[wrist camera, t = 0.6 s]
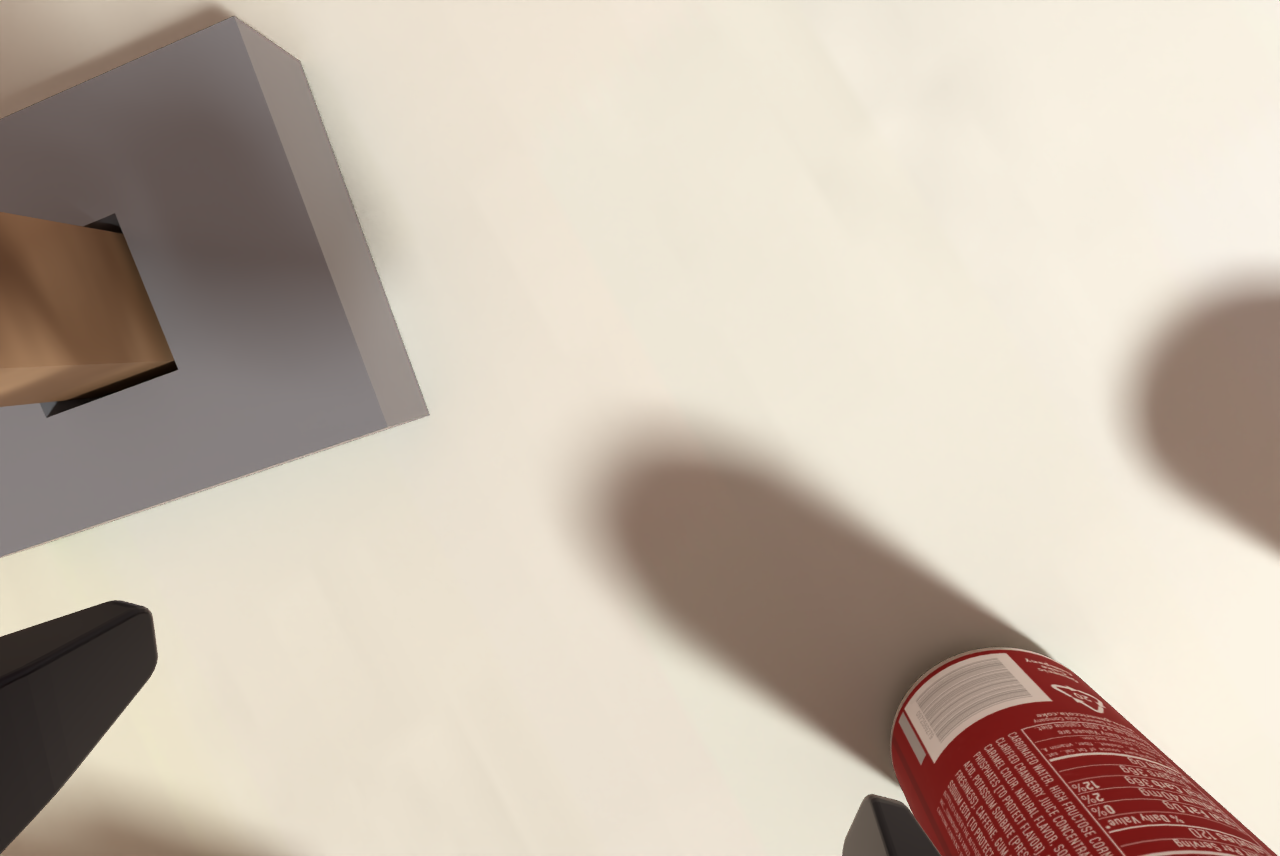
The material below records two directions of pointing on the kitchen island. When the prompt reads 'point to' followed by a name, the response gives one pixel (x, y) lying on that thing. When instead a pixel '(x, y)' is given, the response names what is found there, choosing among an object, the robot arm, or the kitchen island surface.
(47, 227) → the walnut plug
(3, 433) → the socket board
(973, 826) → the soda can
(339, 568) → the kitchen island surface
